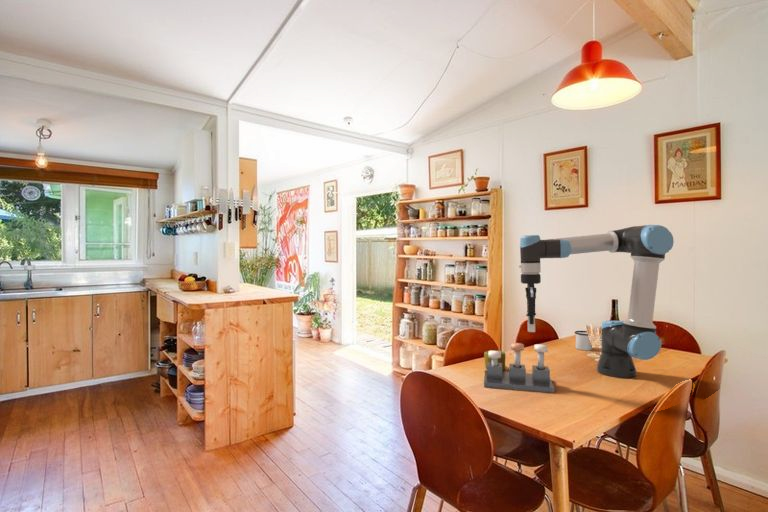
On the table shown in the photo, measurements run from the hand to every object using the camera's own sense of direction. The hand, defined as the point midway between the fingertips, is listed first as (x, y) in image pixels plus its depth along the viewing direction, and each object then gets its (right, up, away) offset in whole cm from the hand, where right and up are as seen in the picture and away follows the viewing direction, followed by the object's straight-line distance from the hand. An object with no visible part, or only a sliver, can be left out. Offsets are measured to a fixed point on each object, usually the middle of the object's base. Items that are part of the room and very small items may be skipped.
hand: (531, 331), depth 164 cm
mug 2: (+51, -20, +58) cm, 80 cm away
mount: (-5, -22, +2) cm, 22 cm away
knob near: (+3, -16, -1) cm, 16 cm away
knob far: (-14, -19, +4) cm, 24 cm away
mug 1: (-9, -21, +22) cm, 32 cm away
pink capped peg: (-5, -16, +2) cm, 16 cm away
